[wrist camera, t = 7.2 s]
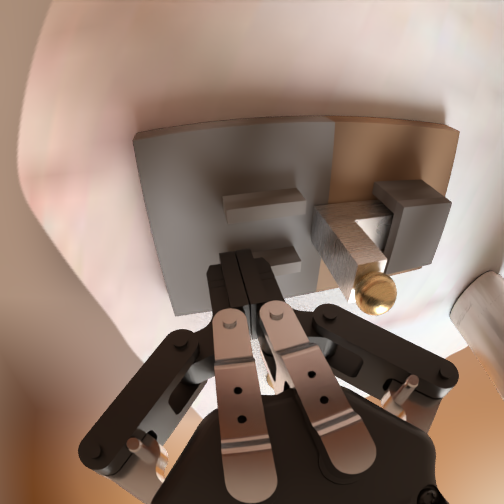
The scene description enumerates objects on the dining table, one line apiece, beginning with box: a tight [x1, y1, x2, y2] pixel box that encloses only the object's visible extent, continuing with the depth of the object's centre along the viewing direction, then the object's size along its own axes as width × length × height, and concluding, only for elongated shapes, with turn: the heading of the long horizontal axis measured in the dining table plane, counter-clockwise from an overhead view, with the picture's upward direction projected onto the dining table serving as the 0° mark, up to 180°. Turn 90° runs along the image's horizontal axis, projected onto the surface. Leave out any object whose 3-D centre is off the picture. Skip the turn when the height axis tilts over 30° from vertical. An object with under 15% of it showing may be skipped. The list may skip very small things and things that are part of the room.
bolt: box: [311, 199, 397, 315], centre depth 15 cm, size 8×2×7 cm, turn 91°
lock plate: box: [133, 116, 460, 316], centre depth 17 cm, size 20×12×5 cm, turn 91°
